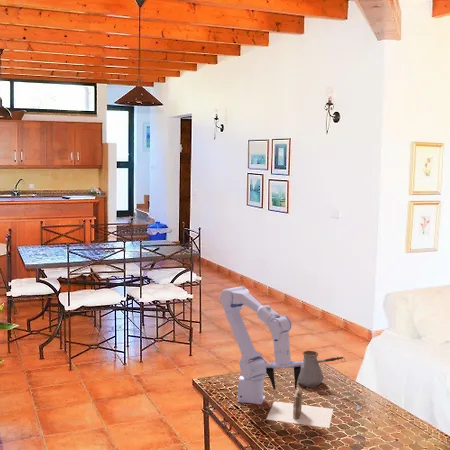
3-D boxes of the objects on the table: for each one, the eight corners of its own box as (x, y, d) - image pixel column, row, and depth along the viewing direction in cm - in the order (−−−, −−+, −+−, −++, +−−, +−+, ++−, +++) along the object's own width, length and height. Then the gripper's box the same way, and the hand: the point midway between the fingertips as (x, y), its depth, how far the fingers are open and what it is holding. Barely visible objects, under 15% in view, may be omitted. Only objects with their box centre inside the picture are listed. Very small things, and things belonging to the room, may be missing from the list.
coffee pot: (289, 383, 243) (290, 348, 241) (305, 376, 251) (306, 341, 250) (334, 398, 229) (336, 361, 227) (350, 390, 237) (351, 353, 235)
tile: (293, 418, 209) (293, 396, 208) (295, 410, 216) (296, 389, 215) (298, 419, 209) (299, 397, 208) (301, 411, 216) (302, 390, 215)
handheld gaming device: (331, 394, 232) (363, 407, 220) (331, 395, 232) (363, 408, 221) (316, 399, 226) (348, 413, 215) (316, 401, 226) (348, 415, 215)
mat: (266, 420, 208) (266, 419, 208) (274, 402, 224) (274, 401, 224) (329, 429, 203) (329, 427, 203) (333, 410, 218) (333, 408, 218)
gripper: (261, 354, 210) (264, 392, 210) (302, 352, 208) (305, 390, 208) (262, 349, 217) (265, 386, 217) (302, 347, 215) (305, 384, 215)
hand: (285, 388), depth 213 cm, fingers open, 7 cm apart
